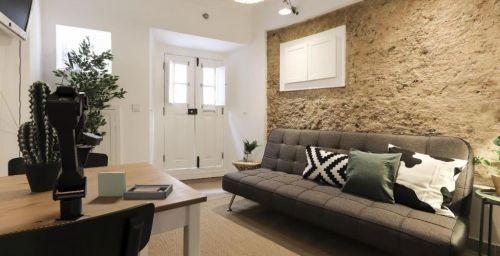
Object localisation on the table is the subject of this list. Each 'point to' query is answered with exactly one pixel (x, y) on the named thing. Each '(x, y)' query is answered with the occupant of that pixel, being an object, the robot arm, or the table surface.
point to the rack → (158, 194)
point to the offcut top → (146, 190)
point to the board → (111, 183)
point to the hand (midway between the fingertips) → (76, 167)
